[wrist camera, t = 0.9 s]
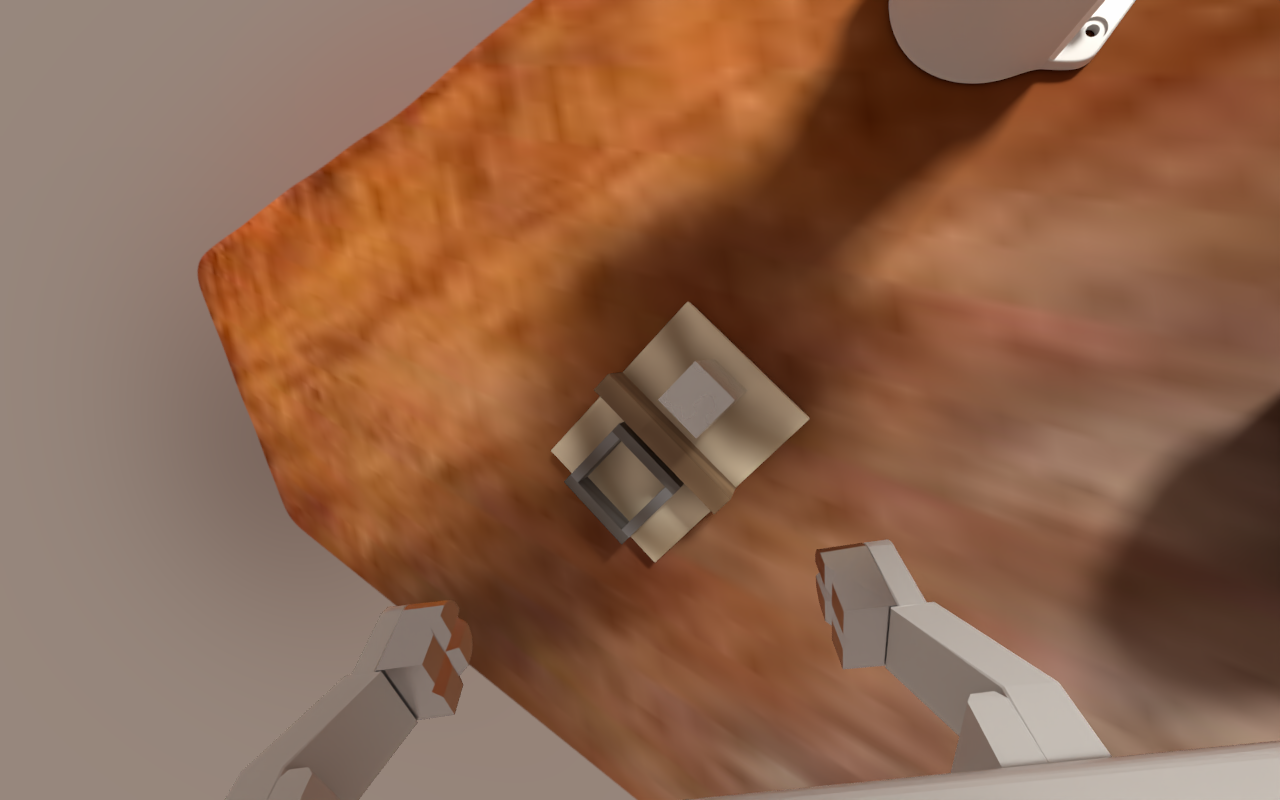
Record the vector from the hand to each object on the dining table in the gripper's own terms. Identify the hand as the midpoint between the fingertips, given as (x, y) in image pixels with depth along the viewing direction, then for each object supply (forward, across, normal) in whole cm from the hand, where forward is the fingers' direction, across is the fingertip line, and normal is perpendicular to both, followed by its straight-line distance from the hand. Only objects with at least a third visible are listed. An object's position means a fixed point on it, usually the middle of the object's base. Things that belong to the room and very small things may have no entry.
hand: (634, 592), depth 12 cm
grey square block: (+34, -5, +15) cm, 37 cm away
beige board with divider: (+34, 0, +19) cm, 39 cm away
